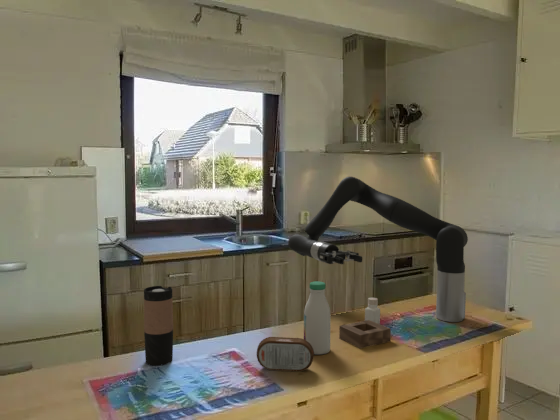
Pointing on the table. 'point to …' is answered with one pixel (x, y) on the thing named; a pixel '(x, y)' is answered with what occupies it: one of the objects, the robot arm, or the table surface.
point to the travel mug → (158, 325)
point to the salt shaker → (372, 311)
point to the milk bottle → (317, 319)
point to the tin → (285, 354)
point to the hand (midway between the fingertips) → (352, 260)
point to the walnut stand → (364, 333)
